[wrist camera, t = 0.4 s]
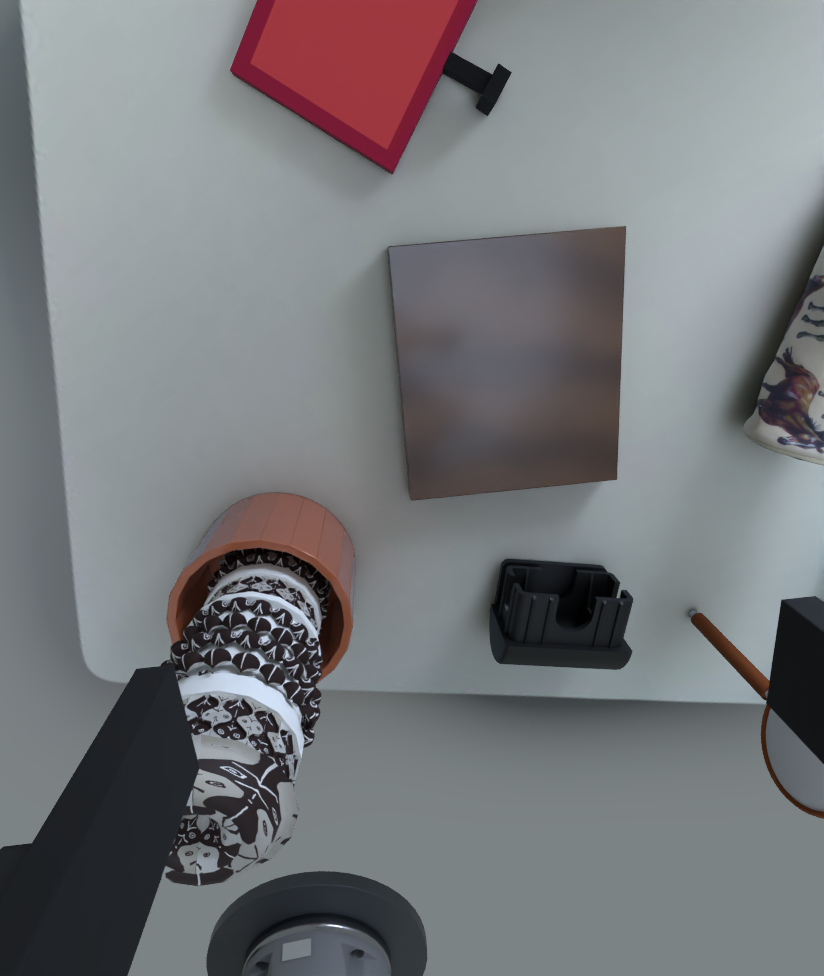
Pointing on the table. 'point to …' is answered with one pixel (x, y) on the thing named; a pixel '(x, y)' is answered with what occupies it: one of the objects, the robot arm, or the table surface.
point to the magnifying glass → (775, 733)
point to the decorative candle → (247, 710)
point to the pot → (282, 529)
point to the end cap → (559, 616)
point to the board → (509, 360)
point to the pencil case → (796, 382)
